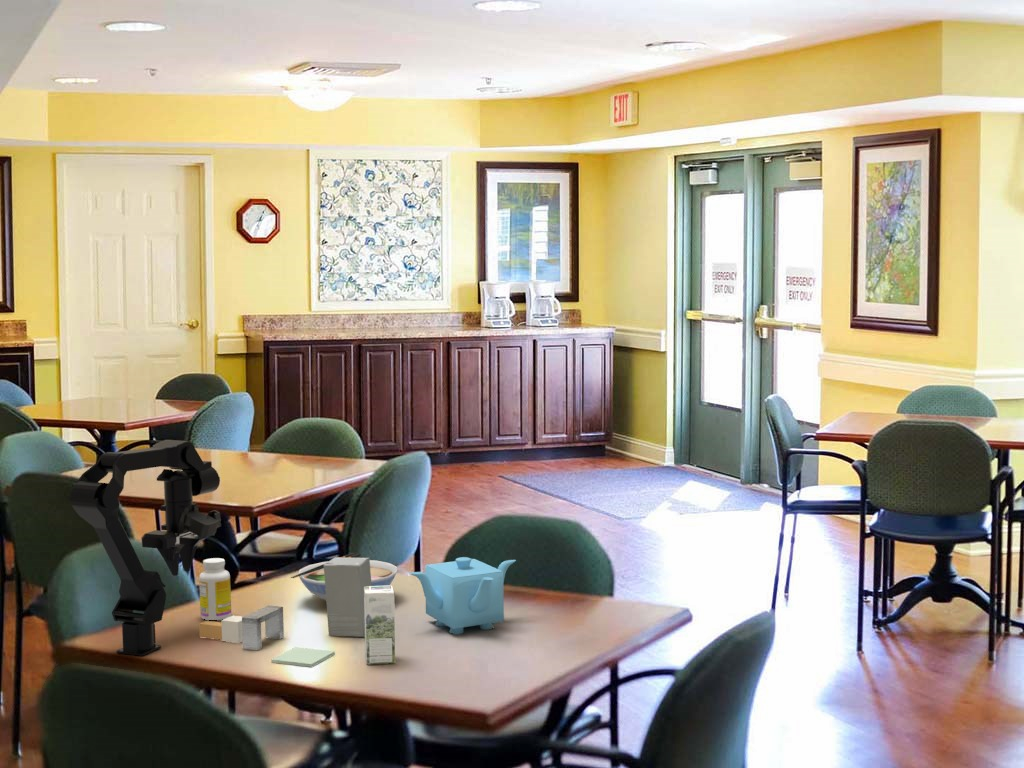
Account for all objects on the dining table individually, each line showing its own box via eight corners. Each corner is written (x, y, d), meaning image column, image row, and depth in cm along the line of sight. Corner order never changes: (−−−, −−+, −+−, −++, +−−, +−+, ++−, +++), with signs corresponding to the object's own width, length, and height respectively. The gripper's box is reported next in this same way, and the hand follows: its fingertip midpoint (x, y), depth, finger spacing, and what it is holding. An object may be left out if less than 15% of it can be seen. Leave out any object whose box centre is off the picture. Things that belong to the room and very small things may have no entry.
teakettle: (439, 612, 306) (437, 547, 305) (520, 617, 301) (519, 551, 299) (408, 635, 288) (406, 566, 287) (493, 641, 283) (492, 571, 282)
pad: (311, 667, 267) (311, 664, 267) (271, 662, 270) (271, 659, 270) (334, 654, 275) (334, 651, 275) (295, 649, 278) (295, 646, 278)
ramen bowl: (356, 621, 300) (355, 584, 299) (274, 608, 311) (273, 572, 310) (420, 595, 321) (420, 561, 320) (341, 584, 333) (341, 551, 332)
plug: (238, 643, 284) (237, 622, 283) (197, 638, 287) (196, 617, 287) (249, 638, 287) (248, 617, 287) (208, 633, 291) (208, 612, 291)
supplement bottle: (235, 613, 307) (233, 557, 306) (226, 621, 300) (224, 563, 299) (206, 613, 307) (204, 556, 306) (196, 621, 301) (194, 563, 300)
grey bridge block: (257, 650, 278) (256, 618, 278) (242, 648, 280) (241, 617, 279) (283, 637, 288) (283, 606, 287) (269, 635, 289) (268, 605, 288)
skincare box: (375, 630, 292) (373, 556, 291) (362, 639, 286) (360, 564, 284) (337, 627, 295) (336, 554, 293) (324, 636, 288) (322, 562, 286)
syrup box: (394, 655, 274) (392, 583, 273) (395, 664, 268) (394, 590, 267) (365, 657, 273) (363, 585, 272) (366, 665, 267) (364, 592, 266)
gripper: (184, 510, 277) (187, 586, 278) (236, 494, 294) (238, 566, 295) (138, 507, 281) (141, 582, 282) (192, 491, 298) (195, 562, 300)
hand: (181, 573), depth 290 cm, fingers open, 4 cm apart
